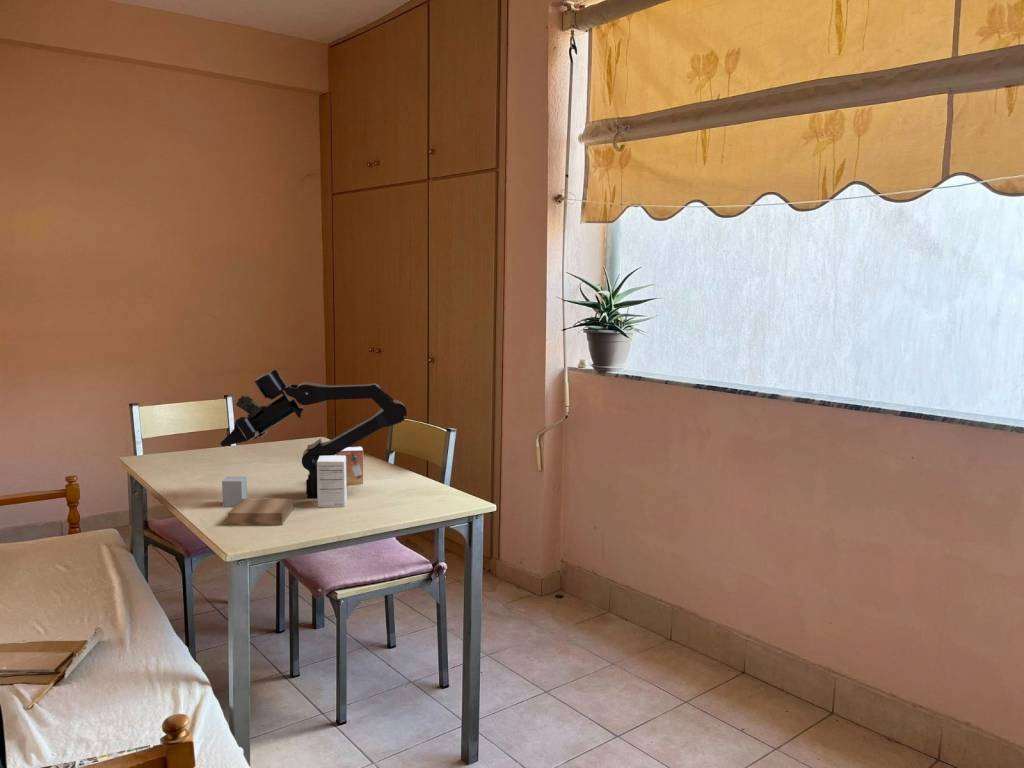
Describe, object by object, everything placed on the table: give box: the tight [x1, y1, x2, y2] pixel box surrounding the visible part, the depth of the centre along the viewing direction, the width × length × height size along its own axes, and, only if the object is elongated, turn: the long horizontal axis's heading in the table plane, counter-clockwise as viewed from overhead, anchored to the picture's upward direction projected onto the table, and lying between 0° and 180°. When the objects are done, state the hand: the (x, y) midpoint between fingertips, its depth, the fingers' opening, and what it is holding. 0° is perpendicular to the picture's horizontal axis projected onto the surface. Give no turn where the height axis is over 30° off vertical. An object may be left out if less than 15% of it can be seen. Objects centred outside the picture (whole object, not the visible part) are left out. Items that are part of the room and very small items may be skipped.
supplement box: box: [317, 455, 348, 508], centre depth 212 cm, size 7×7×13 cm
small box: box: [335, 446, 364, 486], centre depth 235 cm, size 8×6×10 cm
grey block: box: [221, 476, 248, 508], centre depth 210 cm, size 5×5×7 cm
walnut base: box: [227, 498, 294, 526], centre depth 199 cm, size 13×13×3 cm
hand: (225, 443), depth 214 cm, fingers open, 9 cm apart
